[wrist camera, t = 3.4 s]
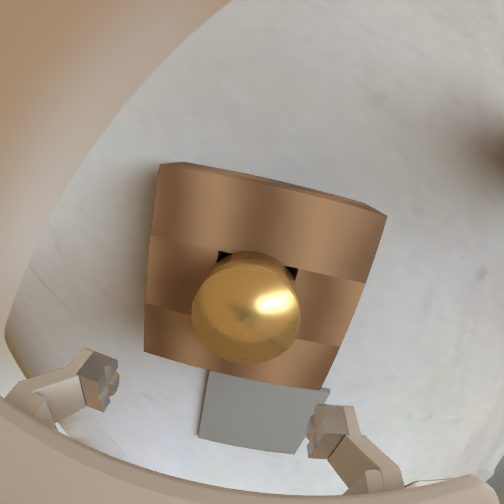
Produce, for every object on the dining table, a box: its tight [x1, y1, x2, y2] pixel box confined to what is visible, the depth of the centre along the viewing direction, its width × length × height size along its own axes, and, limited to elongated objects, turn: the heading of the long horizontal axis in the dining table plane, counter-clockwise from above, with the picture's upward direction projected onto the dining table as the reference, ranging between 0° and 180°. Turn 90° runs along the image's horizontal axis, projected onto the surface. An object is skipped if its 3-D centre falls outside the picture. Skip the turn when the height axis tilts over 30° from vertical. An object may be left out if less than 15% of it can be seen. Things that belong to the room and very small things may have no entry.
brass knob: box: [191, 252, 301, 364], centre depth 20 cm, size 6×6×8 cm
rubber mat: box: [198, 370, 330, 454], centre depth 29 cm, size 12×12×1 cm
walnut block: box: [144, 162, 387, 391], centre depth 21 cm, size 14×14×5 cm
